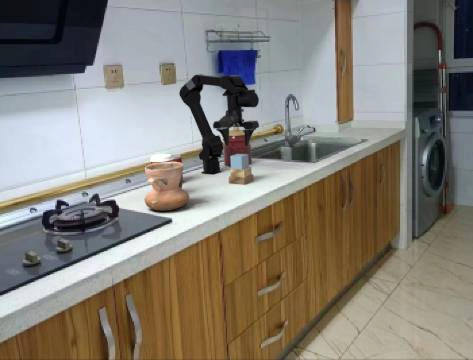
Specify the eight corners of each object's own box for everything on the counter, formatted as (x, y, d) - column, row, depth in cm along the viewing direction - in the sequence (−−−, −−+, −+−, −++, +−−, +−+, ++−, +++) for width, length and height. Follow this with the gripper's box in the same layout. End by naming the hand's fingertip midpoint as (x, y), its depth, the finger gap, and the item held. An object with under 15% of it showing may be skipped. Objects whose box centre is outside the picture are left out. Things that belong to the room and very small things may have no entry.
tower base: (229, 184, 191) (228, 177, 191) (238, 180, 197) (238, 173, 196) (244, 186, 188) (244, 178, 187) (253, 181, 193) (253, 174, 193)
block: (231, 168, 191) (230, 156, 189) (237, 166, 195) (237, 153, 194) (242, 169, 188) (241, 156, 187) (248, 167, 192) (248, 154, 191)
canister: (234, 160, 238) (232, 123, 234) (257, 162, 230) (255, 124, 226) (218, 165, 228) (216, 127, 224) (241, 167, 220) (239, 128, 216)
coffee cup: (157, 201, 171) (153, 158, 167) (150, 196, 178) (146, 155, 175) (180, 197, 174) (177, 155, 171) (172, 192, 182) (168, 152, 178)
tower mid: (230, 176, 191) (230, 169, 190) (238, 173, 196) (237, 166, 195) (244, 177, 188) (243, 170, 187) (251, 174, 193) (251, 166, 192)
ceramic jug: (170, 217, 152) (166, 171, 148) (133, 212, 159) (129, 169, 155) (202, 202, 167) (199, 160, 164) (167, 198, 174) (163, 158, 171)
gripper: (203, 109, 196) (206, 148, 199) (244, 109, 186) (246, 150, 189) (219, 106, 205) (222, 143, 208) (258, 106, 195) (260, 145, 198)
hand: (236, 145), depth 201 cm, fingers open, 9 cm apart
